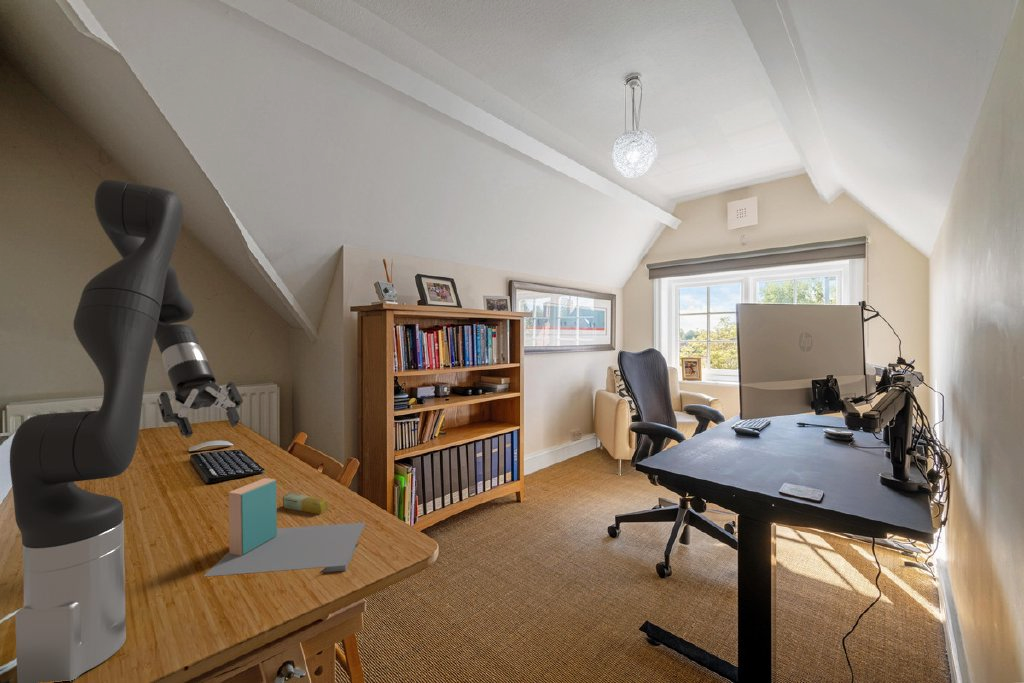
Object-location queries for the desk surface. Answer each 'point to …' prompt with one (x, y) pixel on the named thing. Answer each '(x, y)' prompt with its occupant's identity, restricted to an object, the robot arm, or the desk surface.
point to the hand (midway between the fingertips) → (213, 429)
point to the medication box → (305, 503)
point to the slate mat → (296, 551)
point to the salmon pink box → (252, 516)
